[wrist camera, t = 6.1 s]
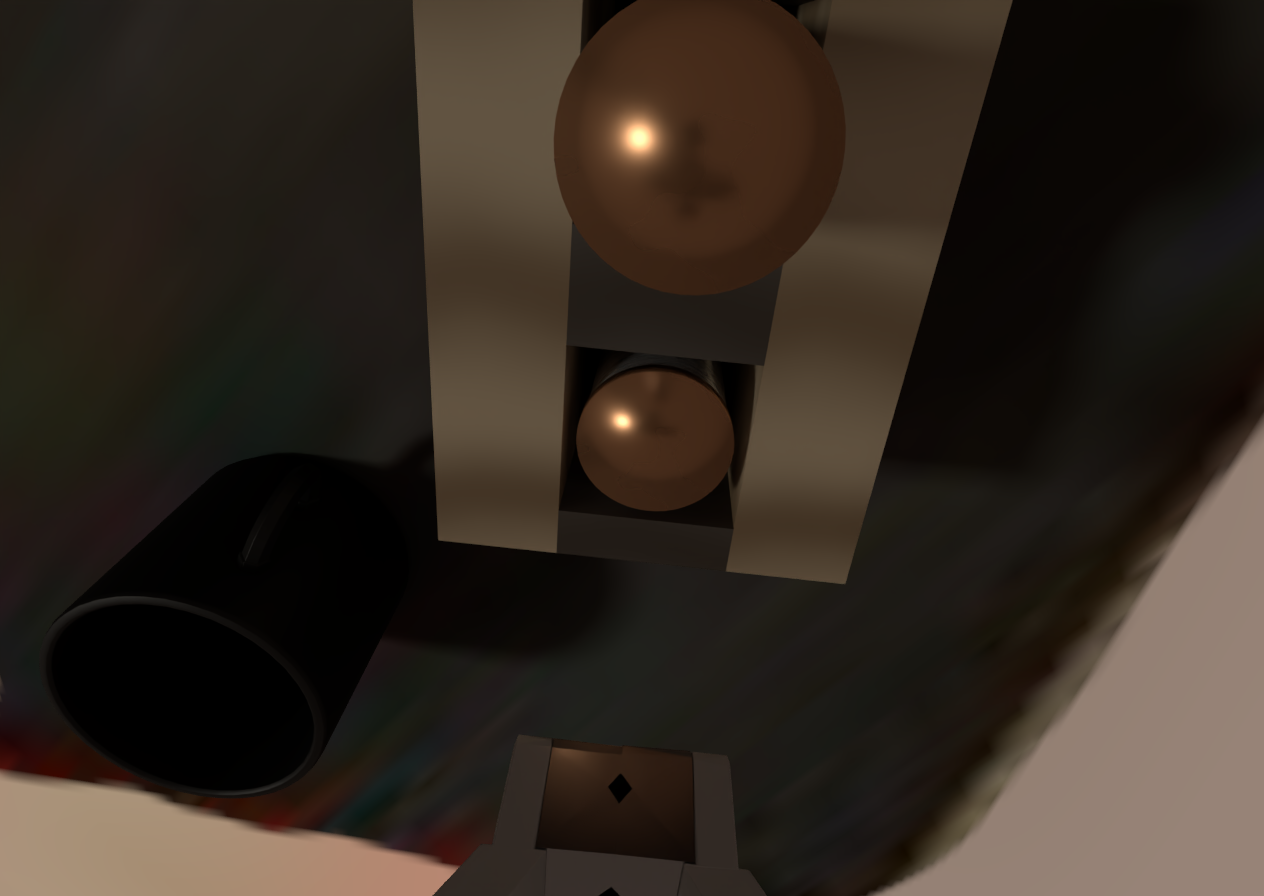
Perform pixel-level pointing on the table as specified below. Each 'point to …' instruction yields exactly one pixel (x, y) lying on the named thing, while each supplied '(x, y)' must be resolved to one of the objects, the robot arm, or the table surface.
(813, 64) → the copper domed cylinder
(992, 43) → the oak block
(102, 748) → the mug
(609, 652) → the table surface
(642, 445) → the cylinder
